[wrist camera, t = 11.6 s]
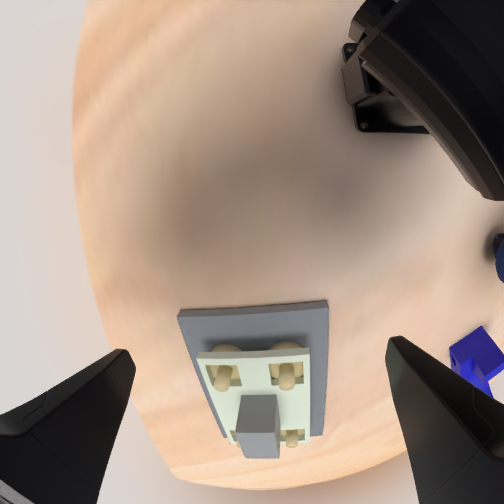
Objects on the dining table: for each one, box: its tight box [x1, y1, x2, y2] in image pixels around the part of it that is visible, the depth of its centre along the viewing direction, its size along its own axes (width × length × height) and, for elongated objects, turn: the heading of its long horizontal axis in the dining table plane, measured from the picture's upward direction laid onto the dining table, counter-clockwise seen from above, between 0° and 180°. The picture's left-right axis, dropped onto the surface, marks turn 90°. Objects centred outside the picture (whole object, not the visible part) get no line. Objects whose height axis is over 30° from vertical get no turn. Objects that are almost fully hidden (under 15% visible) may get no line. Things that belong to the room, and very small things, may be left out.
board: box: [196, 347, 310, 458], centre depth 20 cm, size 9×14×5 cm, turn 8°
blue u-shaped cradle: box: [449, 326, 504, 398], centre depth 20 cm, size 12×4×6 cm, turn 32°
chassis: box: [177, 301, 329, 448], centre depth 23 cm, size 12×19×4 cm, turn 8°
